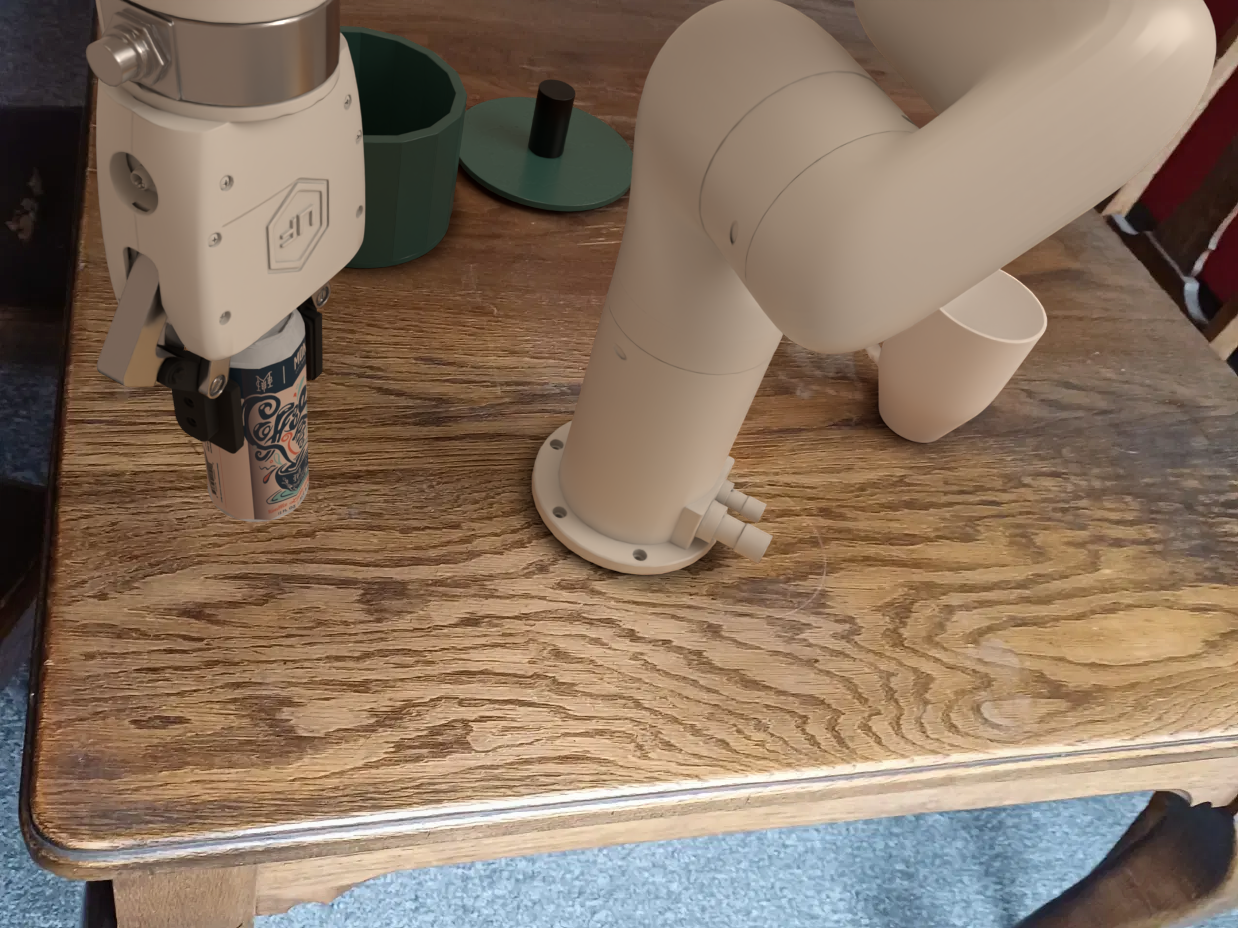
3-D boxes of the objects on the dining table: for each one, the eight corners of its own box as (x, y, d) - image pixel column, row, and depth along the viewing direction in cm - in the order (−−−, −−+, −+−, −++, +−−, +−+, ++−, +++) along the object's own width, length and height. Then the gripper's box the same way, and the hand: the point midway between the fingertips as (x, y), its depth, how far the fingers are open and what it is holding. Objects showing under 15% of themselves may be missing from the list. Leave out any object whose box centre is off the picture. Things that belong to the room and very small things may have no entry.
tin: (484, 203, 86) (503, 84, 78) (379, 296, 76) (388, 170, 68) (330, 128, 88) (334, 4, 80) (208, 208, 78) (198, 76, 70)
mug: (986, 428, 81) (1069, 308, 72) (931, 483, 76) (1013, 361, 67) (861, 340, 85) (926, 215, 76) (800, 387, 79) (862, 259, 71)
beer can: (286, 539, 52) (276, 363, 43) (191, 512, 52) (162, 331, 43) (323, 469, 56) (321, 292, 47) (234, 443, 55) (215, 261, 47)
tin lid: (661, 160, 95) (680, 92, 91) (582, 243, 85) (599, 171, 80) (509, 88, 98) (520, 18, 93) (414, 160, 87) (421, 86, 82)
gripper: (127, 181, 29) (191, 564, 43) (456, -21, 41) (425, 334, 54) (-88, 74, 31) (40, 480, 44) (290, -94, 42) (300, 271, 55)
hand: (252, 396), depth 49 cm, fingers closed on beer can, 4 cm apart
